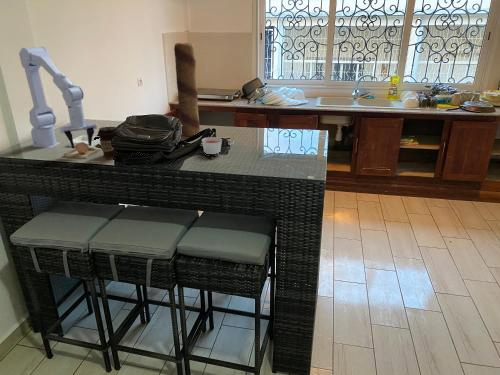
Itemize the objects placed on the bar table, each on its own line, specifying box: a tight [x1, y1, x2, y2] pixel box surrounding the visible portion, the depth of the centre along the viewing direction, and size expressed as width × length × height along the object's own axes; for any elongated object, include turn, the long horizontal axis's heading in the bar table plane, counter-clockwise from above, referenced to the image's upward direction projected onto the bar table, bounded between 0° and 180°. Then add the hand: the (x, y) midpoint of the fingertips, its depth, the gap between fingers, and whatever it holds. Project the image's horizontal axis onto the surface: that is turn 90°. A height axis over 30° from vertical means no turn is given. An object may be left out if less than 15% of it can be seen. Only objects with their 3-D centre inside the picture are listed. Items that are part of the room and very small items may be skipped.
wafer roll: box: [173, 42, 201, 137], centre depth 196 cm, size 10×11×45 cm
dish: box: [67, 134, 100, 148], centre depth 186 cm, size 11×11×2 cm
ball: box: [75, 142, 88, 153], centre depth 172 cm, size 5×5×5 cm
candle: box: [201, 136, 223, 155], centre depth 176 cm, size 9×9×6 cm
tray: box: [63, 147, 102, 159], centre depth 173 cm, size 11×11×2 cm
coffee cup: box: [97, 126, 120, 160], centre depth 168 cm, size 9×8×13 cm
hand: (81, 146), depth 172 cm, fingers open, 6 cm apart
